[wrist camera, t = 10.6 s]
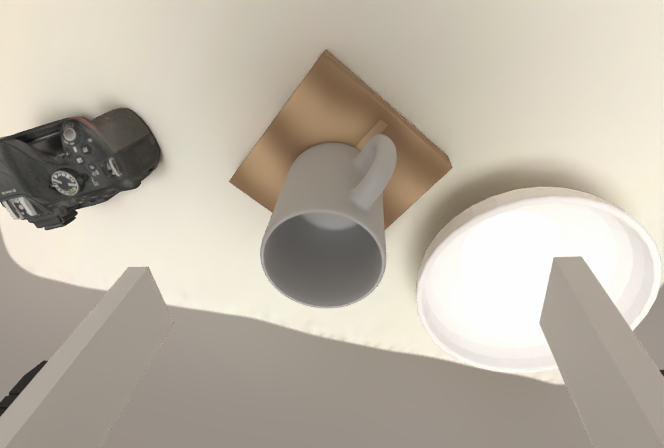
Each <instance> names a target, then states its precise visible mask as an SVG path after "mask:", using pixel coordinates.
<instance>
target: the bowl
mask: <svg viewBox="0 0 664 448" xmlns="http://www.w3.org/2000/svg"><path fill="white" fill-rule="evenodd" d="M575 256H582V258H583V259H584V261H585V262H586V263H587V265H588V266H589V268H590V269H591V271H592V272H593V274H594V275H595V277H596V278H597V280H598V281H599V283H600V284H601V285H602V287H603V288H604V290H605V291H606V293H607V294H608V296H609V297H610V299H611V300H612V302H613V303H614V305H615V306H616V307H617V309H618V310H619V312H620V313H621V315H622V316H623V318H624V319H625V321H626V322H627V324H628V325H629V327H630V328H631V329H632V331H633V330H634V329H635V327H636V326H637V325H638V324H639V323H640V322H641V320H642V319H643V318H644V317H645V316H646V315H647V313H648V311H649V309H650V308H651V306H652V304H653V303H654V301H655V299H656V297H657V294H658V290H659V287H660V283H661V280H662V260H661V257H660V254H659V251H658V248H657V245H656V243H655V241H654V240H653V238H652V237H651V236H650V234H649V233H648V231H647V230H646V229H645V227H644V226H643V225H641V224H640V223H639V222H638V221H636V220H635V219H634V218H633V217H631V216H630V215H629V214H628V213H626V212H625V211H624V210H622V209H621V208H620V207H618V206H616V205H614V204H612V203H610V202H608V201H606V200H603V199H601V198H599V197H597V196H594V195H592V194H589V193H586V192H582V191H577V190H573V189H569V188H563V187H542V186H540V187H532V188H523V189H516V190H512V191H509V192H505V193H502V194H498V195H494V196H492V197H489V198H487V199H485V200H483V201H481V202H479V203H476V204H474V205H472V206H470V207H469V208H467V209H466V210H464V211H463V212H462V213H460V214H459V215H457V216H456V217H454V218H453V219H452V220H451V221H450V222H449V223H448V224H446V225H445V226H444V227H443V228H442V229H441V230H440V231H439V232H438V233H437V235H436V236H435V238H434V239H433V241H432V242H431V244H430V245H429V246H428V248H427V250H426V252H425V255H424V257H423V260H422V262H421V265H420V268H419V271H418V277H417V284H416V303H417V312H418V316H419V318H420V321H421V323H422V326H423V328H424V329H425V331H426V332H427V334H428V335H429V336H430V338H431V339H432V341H433V342H435V343H436V344H437V345H438V346H439V347H440V348H441V349H442V350H444V351H445V352H446V353H448V354H450V355H451V356H453V357H455V358H456V359H458V360H460V361H462V362H465V363H468V364H470V365H473V366H475V367H478V368H483V369H487V370H492V371H497V372H509V373H532V372H542V371H548V370H554V369H559V368H558V366H557V363H556V361H555V359H554V357H553V354H552V352H551V350H550V347H549V345H548V343H547V340H546V338H545V336H544V333H543V331H542V329H541V327H540V324H539V321H540V317H541V312H542V308H543V303H544V299H545V294H546V289H547V285H548V280H549V276H550V271H551V267H552V262H553V258H554V257H575Z"/></svg>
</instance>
